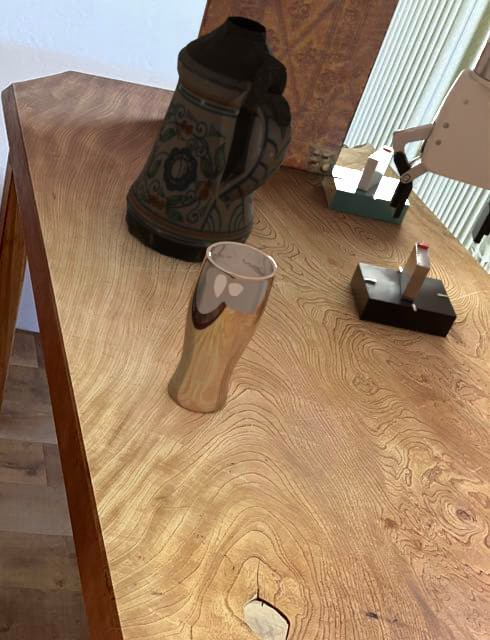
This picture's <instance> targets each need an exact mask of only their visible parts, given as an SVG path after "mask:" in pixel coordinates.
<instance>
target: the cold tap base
mask: <svg viewBox="0 0 490 640" xmlns="http://www.w3.org/2000/svg"><path fill="white" fill-rule="evenodd" d="M363 170H364V168H362V171H360V170H357V169H351V168H347V167H343V166H338V165H335V166H334V165H329V167H328V170H327V172H326V175H324V178H323V181H322V184H321V185H322V187H323V190H324V195H325V198H326V202H327V206H328V209H329V210H333V211H337V212H342V213H347V214H351V215H355V216H359V217H365V218H369V219H374V220H378V221H383V222H386V223H387V222H388V223H392V224H396V225H402V223H403V221H404V220H405V217H406V215H407V212H408V210H409V208H410V206H411V205H410V203H409V199H407V202H406V204H405V206H404V208H403V210H402V212H401V214H400V217H399V218H397V219H395V218H392V207H391V206H389V203H390V200H391V197H392V195H393V193H394V191H395V188H396V186H397V184H398V182H399V179H396V178H392V177H387V176H383V178H382V180H381V181H380V182H379V183H377V184H376V185H375V186H373V187H372V188H370V189H369V190H368V191H364V190H361V189H359V188H357V185H358V182H359V180H360V177H361V175H362V172H363Z"/></svg>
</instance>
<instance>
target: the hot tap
mask: <svg viewBox="0 0 490 640" xmlns="http://www.w3.org/2000/svg"><path fill="white" fill-rule="evenodd" d="M403 266H404V267H403V268H402V273H401V299H404V300H408V301H411V302H414V301H415V299H416V297H417V295H418V293H419V291H420V289H421V287H422V285H423V283H424V281H425V279H426V277H428V275H429V273H430V271H431V257H430V244H429V243H427V242H424V241H421V240H418V241H415V243H414V245H413V248H412V250H411V252H410V254H409V256H408V258H407V260H406V262H405V265H403Z"/></svg>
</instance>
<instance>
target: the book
mask: <svg viewBox="0 0 490 640" xmlns="http://www.w3.org/2000/svg"><path fill="white" fill-rule="evenodd" d="M399 1H400V0H206V3H205V7H204V11H203V14H202V19H201V22H200V26H199V31H198V34H197V38H199V37H201V36H204V35H206V34H208V33H210V32H212V31H213V30H215V29H216V28H218V27H219V26H220V25H222V24H223V23H224V22H225V21H226V19H227V18H228V17H231V16H240V17H244V18H248V19H251V20H254V21H257V22H259V23H260V24H261V25H263V26H264V27H265V28H266V31H267V33H266V40H267V42H268V44H269V46H270V49H271V51H272V53H273V55H274V57H275V58H276V59H277V60H279V61H280V62H281V63H282V64H284V66H285V67H286V69H287V70H286V72H287V84H286V87H285V90H284V92H283V94H282V95H283V96H284V97H285V99H286V100H287V101H288V104H289V106H290V108H291V109H290V113H291V117H292V119H291V122H292V135H291V137H292V138H291V142H290V146H289V149H288V152H287V154H286V156H285V158H284V160H283V162H282V164H281V165H280V166H284V167H289V168H293V169H297V170H301V171H305V172H308V173H313V174H317V175H322V176H325V175H326V172H327V170H328V167H329V165H334V166H337V162H338V160H339V157H340V154H341V152H342V149H343V147H344V144H345V141H346V139H347V136H348V134H349V131H350V128H351V127H352V123H353V121H354V118H355V115H356V113H357V111H358V108H359V105H360V102H361V100H362V98H363V95H364V92H365V90H366V88H367V84H368V82H369V79H370V77H371V74H372V71H373V70H374V66H375V65H376V64H375V63H376V62H377V58H378V57H379V55H380V51H381V48H382V45H383V43H384V40H385V38H386V35H387V33H388V30H389V28H390V25H391V23H392V20H393V17H394V14H395V12H396V9H397V6H398V5H399Z"/></svg>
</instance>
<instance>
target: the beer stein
mask: <svg viewBox="0 0 490 640" xmlns="http://www.w3.org/2000/svg"><path fill="white" fill-rule="evenodd" d="M266 33H267V31H266V28H265V27H264V26H263V25H261V24H260V23H259V22H257V21H254V20H251V19H248V18H244V17H240V16H231V17H228V18H227V19H226V21H225V22H224V23H223V24H222V25H220V26H219V27H218V28H216V29H215V30H213V31H212V32H210V33H208V34H206V35H204V36H201V37H199V38H198V37H197V38H195V39H193V40H191V41H189V42H188V43H187V44H186V45H185V46H183V47H182V48H181V49H180V51H178V54H177V61H176V63H177V64H176V70H177V75H178V78H177V79H178V80H177V83H176V86H175V89H174V92H173V94H172V97H171V99H170V102H169V104H168V107H167V110H166V111H165V116H164V117H163V120H162V122H161V126H160V128H159V130H158V133H157V135H156V138H155V140H154V143H153V146H152V147H151V150H150V152H149V155H148V157H147V159H146V161H145V163H144V165H143V168H142V169H141V171H140V173H139V174H138V176H137V178H136V179H135V180H134V181H133V183H131V185H130V187H129V189H128V191H127V193H126V197H125V199H126V212H125V223H126V226H127V229H128V233H129V234H130V235H131V236H133V237H134V238H135V240H137V241H139V242H140V243H141V244H142V245H143V246H145V247H146V248H148V249H150V250H152V251H154V252H156V253H159V254H161V255H163V256H165V257H169V258H173V259H176V260H178V261H179V260H180V261H183V262H187V263H199V264H202V262H203V259H204V257H205V254H206V250H207V248H208V247H209V246H210V245H211V244H213V243H216V242H223V241H230V242H238V243H243V244H246V242H247V240H248V239H249V237H250V235H251V233H252V231H253V228H254V223H255V222H254V200H255V199H254V198H255V192H256V191H258V190H259V189H260V188H262V187H263V186H264V185H266V184H267V182H268V181H270V180H271V179H272V177H273V176H275V174H276V173H277V172H278V170H279V169H280V166H282V165H281V164H282V162H283V160H284V158H285V156H286V154H287V152H288V149H289V146H290V142H291V138H292V137H291V135H292V122H291V119H292V117H291V113H290V109H291V108H290V106H289V104H288V101H287V100H286V99H285V97H284V96H283V95H282V94H283V92H284V90H285V87H286V84H287V72H286V70H287V69H286V67H285V66H284V64H282V63H281V62H280V61H279V60H277V59H276V58H275V57H274V55H273V53H272V51H271V49H270V46H269V44H268V42H267V40H266Z"/></svg>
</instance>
